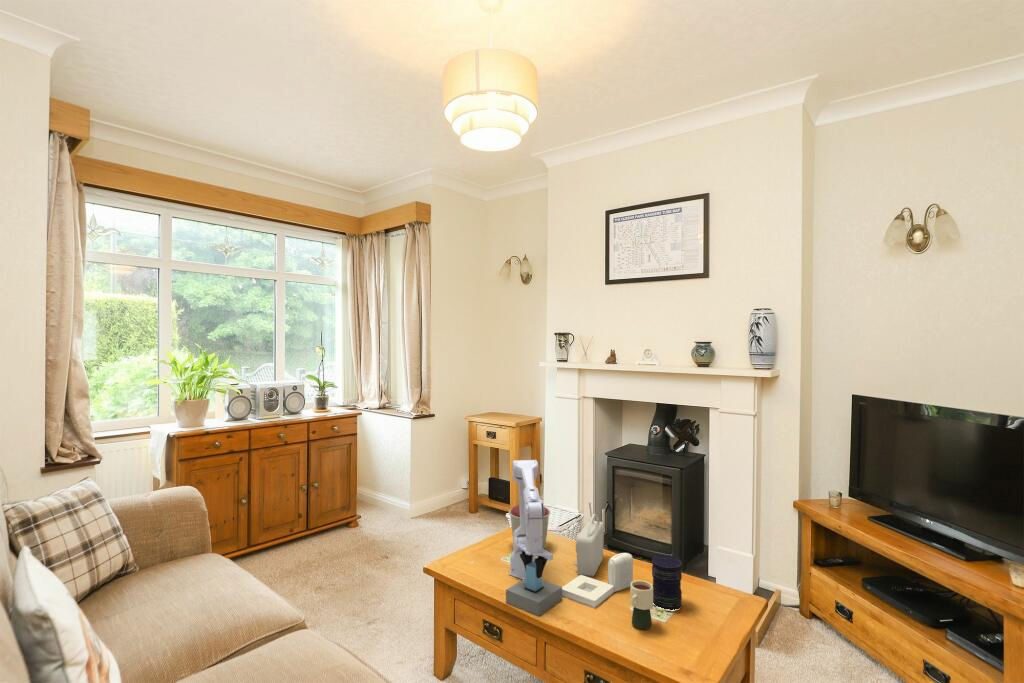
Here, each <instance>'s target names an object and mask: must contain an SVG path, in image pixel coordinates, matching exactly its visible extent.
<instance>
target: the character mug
mask: <svg viewBox="0 0 1024 683" xmlns="http://www.w3.org/2000/svg"><path fill="white" fill-rule="evenodd" d="M629 588H630V591H629V592H630V600H629V602H630V604H631V605H632V606H631V607H633V610H632V616H631V624H632V626H634V627H636V628H639V629H645V630H647V629H648V630H649V629H650V628H652V624H653V623H652V622H653V621H652V615H651V609H653V606H654V605H653V583H650V582H649V581H647V580H641V579H640V580H639V579H638V580H633V582H631V585H630V587H629Z"/></svg>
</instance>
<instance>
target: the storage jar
mask: <svg viewBox="0 0 1024 683" xmlns="http://www.w3.org/2000/svg"><path fill="white" fill-rule="evenodd" d="M651 565H652V566H651V570H652V571H651V574H652V585H653V603H654V604H655V605H656V606H658V607H661V608H664V609H670V610H673V609H674V610H675V609H679V608H680V607H681V608H682V599H683V598H682V596H683V595H682V594H683V593H682V589H681V584H682V575H683V573H682V572H683V569H682V561H681V559H679V558H677V557H675V556H673V555H672V556H671V555H665V554H663V555H662V554H661V555H655V556H653V557H652V564H651Z"/></svg>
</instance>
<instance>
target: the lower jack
mask: <svg viewBox="0 0 1024 683" xmlns="http://www.w3.org/2000/svg"><path fill="white" fill-rule="evenodd" d="M561 587H562V598H565V599H566V598H567V599H568V600H571V601H573V602H576V603H579V604H582V605H585V606H587V607H590V608H593V609H596V608H597V607H598V606H600V605H601V604H603V603H604V602H605V600H607V599H608V598H609V597H611V596H612V595H613V594H614V593H615V592H614V586H613V585H610V584H608V582H604V581H601V580H598V579H594V578H592V577H590V576H586V575H580V574H579V575H578V576H577V577H575V578H574V579H572V580H571V581H570V582H568V583H566V584H565V585H563V586H561Z"/></svg>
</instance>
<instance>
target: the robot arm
mask: <svg viewBox="0 0 1024 683" xmlns="http://www.w3.org/2000/svg"><path fill="white" fill-rule="evenodd" d="M511 463H512V466H511V468H512V469H511V470H512V479H513V480H512V481H513V482H515V483H517V485H518V502H519V503H518V505H519V506H520V526H519V527H518V528H517V529H516V530H515V531H514V533H513V534H512V546H513V547H512V548H513V551H512V552H511V555H510V572H509V573H508V575H509V576H512V577H514V578H517V579H520V580H523V579H525V578H526V565H527V564H529V563H530V562H532V561H534V562H535V564H536V573H537V578H540V577H542V578H543V573H544V569H545V567H546V564H547V561H548V562H551V561H553V560H554V553H552V552H549V551H548V550H547V549H545V548H544V549H543V548H542V518H544V507H545V505H544V502H543V500H542V499H541V496H540V492H539V491H540V490H539V489H538V487H536V486H535V481H536V480H537V478H538V475H539V463H538V460H537V459H522V460H521V459H520V460H516V459H514V460H513V461H512V462H511ZM519 534H526V535H519Z"/></svg>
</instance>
